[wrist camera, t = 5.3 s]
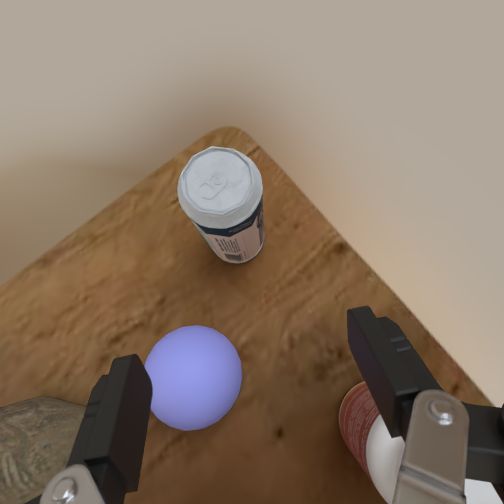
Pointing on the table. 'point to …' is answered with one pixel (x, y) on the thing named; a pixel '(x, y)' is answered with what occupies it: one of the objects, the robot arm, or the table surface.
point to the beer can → (224, 202)
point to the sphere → (193, 377)
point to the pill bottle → (387, 447)
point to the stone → (35, 445)
